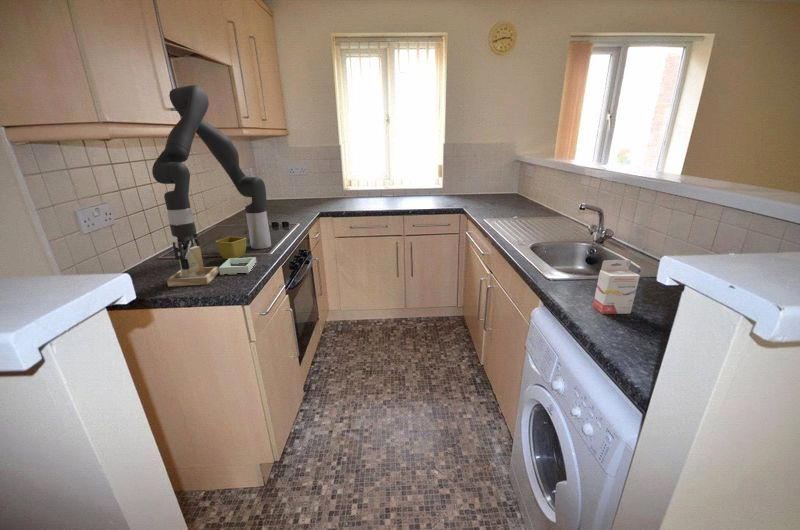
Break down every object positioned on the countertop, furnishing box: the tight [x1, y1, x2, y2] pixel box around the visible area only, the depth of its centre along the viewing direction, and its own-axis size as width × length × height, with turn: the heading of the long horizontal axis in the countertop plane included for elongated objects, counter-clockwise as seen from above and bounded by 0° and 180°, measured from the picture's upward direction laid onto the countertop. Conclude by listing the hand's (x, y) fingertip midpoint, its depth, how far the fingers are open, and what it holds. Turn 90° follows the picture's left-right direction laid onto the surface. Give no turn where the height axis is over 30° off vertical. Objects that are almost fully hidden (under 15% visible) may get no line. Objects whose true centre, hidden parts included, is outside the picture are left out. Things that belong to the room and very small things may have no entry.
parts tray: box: [218, 256, 257, 276], centre depth 136 cm, size 12×11×3 cm
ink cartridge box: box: [592, 259, 641, 315], centre depth 96 cm, size 9×5×15 cm, turn 92°
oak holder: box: [166, 266, 220, 287], centre depth 126 cm, size 12×13×2 cm
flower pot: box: [214, 236, 247, 260], centre depth 147 cm, size 9×9×9 cm
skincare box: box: [178, 246, 206, 278], centre depth 125 cm, size 6×4×12 cm
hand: (191, 265), depth 125 cm, fingers open, 8 cm apart
